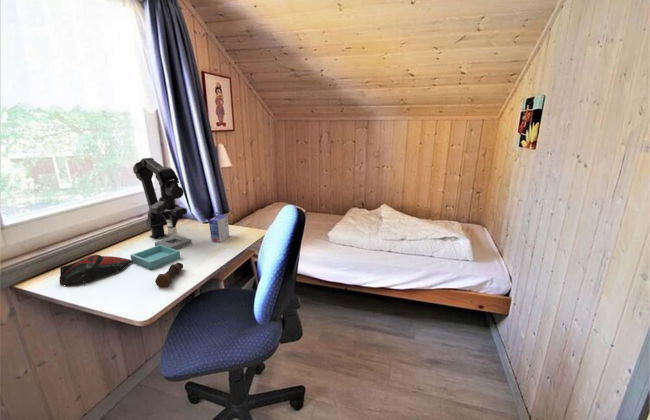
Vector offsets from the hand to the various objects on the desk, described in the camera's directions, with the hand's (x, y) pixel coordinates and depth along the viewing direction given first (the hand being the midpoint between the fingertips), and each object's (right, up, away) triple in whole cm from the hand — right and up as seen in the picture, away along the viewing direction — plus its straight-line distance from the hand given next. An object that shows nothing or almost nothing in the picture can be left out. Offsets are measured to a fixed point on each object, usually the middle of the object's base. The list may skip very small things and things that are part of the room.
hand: (171, 226), depth 154 cm
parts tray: (0, -14, -14) cm, 20 cm away
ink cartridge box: (+20, -8, +12) cm, 24 cm away
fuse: (0, -3, +1) cm, 4 cm away
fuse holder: (0, -10, +3) cm, 10 cm away
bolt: (+14, -20, -29) cm, 38 cm away
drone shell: (-17, -18, -27) cm, 37 cm away
